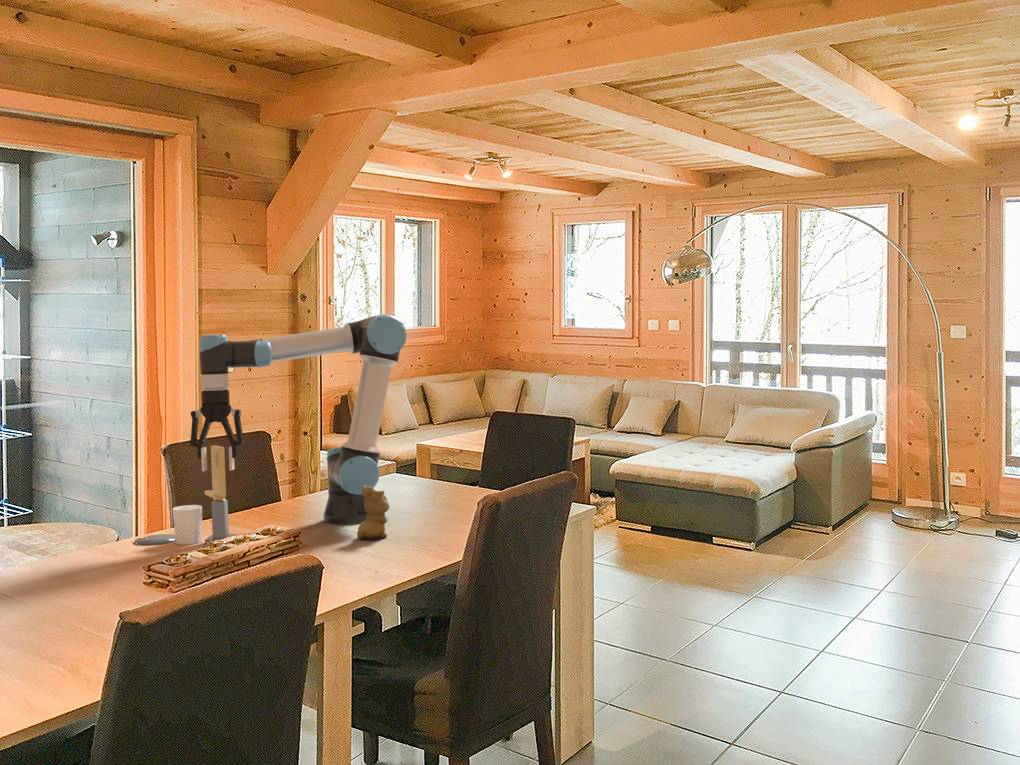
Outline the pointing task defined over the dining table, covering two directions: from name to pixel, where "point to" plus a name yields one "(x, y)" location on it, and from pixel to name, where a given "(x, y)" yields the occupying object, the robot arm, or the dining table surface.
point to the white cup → (188, 524)
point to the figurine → (373, 515)
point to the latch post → (219, 521)
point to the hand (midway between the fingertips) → (218, 470)
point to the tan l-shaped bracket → (217, 474)
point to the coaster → (156, 539)
